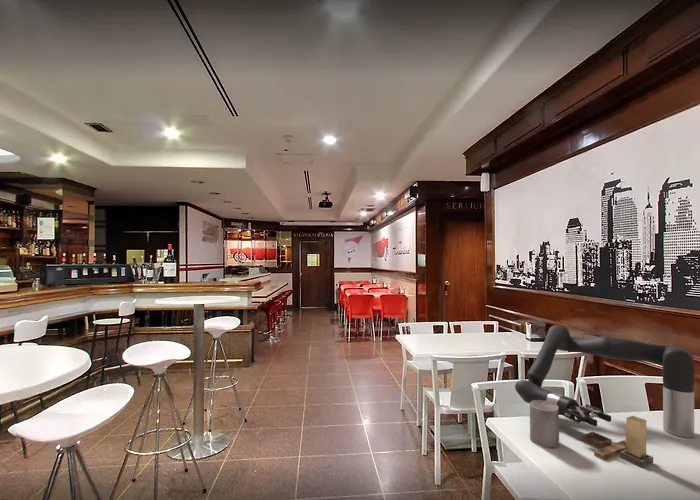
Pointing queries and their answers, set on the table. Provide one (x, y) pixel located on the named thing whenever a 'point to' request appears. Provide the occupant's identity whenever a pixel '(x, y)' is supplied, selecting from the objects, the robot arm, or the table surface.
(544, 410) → the pillar candle
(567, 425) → the table surface
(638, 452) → the tan wooden block
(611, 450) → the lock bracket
